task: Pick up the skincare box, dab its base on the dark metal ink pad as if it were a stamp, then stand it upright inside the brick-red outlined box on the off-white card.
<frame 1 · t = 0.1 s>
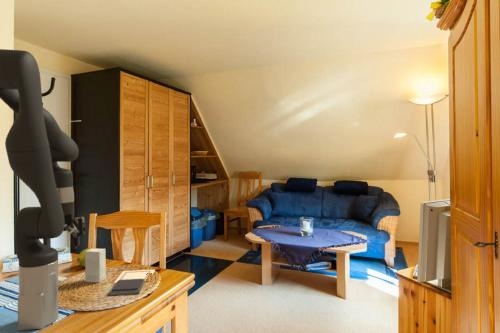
hand: (62, 248, 98), 17 cm above the table, tool pointing down, fingers open, 8 cm apart
paper sheet: (135, 276, 118), on the table
skincare box: (95, 280, 114), on the table
ink pad: (128, 288, 107), on the table
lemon: (88, 266, 129), on the table
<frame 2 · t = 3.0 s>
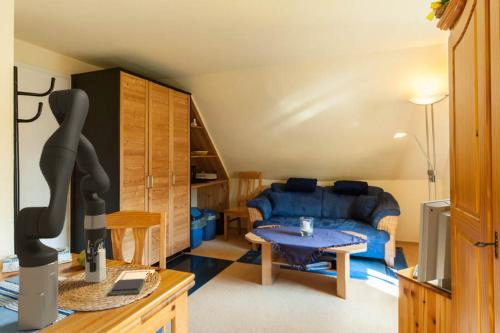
hand: (95, 269, 114), 4 cm above the table, tool pointing down, fingers closed on skincare box, 5 cm apart
skincare box: (95, 280, 114), on the table, touching gripper
everything else where it was.
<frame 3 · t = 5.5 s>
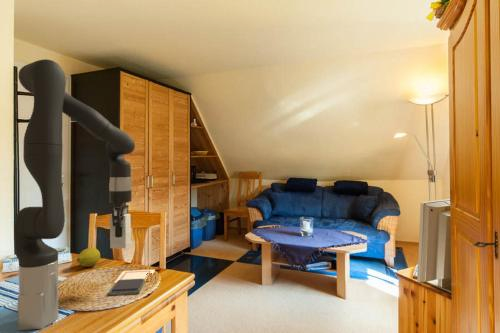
hand: (120, 234, 108), 19 cm above the table, tool pointing down, fingers closed on skincare box, 5 cm apart
skincare box: (120, 247, 108), point 15 cm above the table, touching gripper
everything else where it was.
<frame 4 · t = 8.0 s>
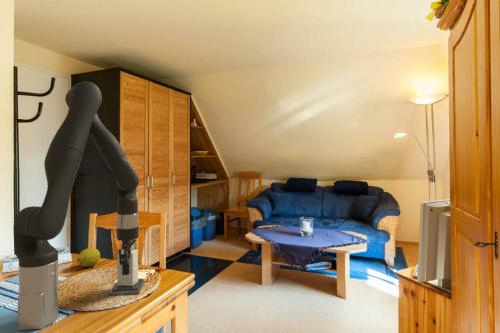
hand: (127, 271, 107), 6 cm above the table, tool pointing down, fingers closed on skincare box, 5 cm apart
skincare box: (127, 284, 107), point 2 cm above the table, touching gripper, ink pad
everything else where it was.
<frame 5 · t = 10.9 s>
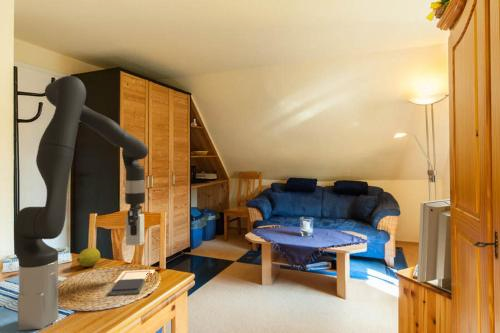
hand: (135, 233, 118), 18 cm above the table, tool pointing down, fingers closed on skincare box, 5 cm apart
skincare box: (135, 244, 118), point 13 cm above the table, touching gripper
everything else where it was.
when the fingers open (6 cm above the table, at t = 13.3 s): skincare box drops 1 cm, resting on paper sheet.
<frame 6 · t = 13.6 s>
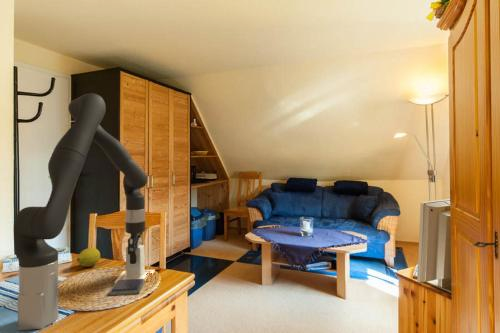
hand: (135, 260, 118), 7 cm above the table, tool pointing down, fingers open, 7 cm apart
skincare box: (135, 276, 118), resting on paper sheet
everything else where it was.
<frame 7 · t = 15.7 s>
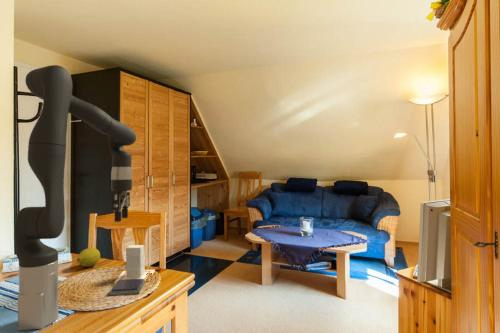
hand: (121, 219, 115), 24 cm above the table, tool pointing down, fingers open, 8 cm apart
nothing on the table moved.
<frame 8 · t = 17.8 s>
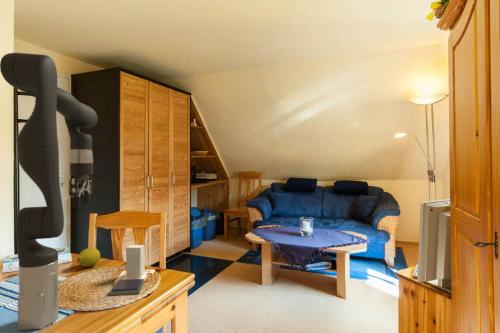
hand: (81, 205, 108), 30 cm above the table, tool pointing down, fingers open, 8 cm apart
nothing on the table moved.
at the end: skincare box 0.1 cm off-centre on the paper sheet, point 0.1 cm above the paper sheet's base; skincare box tilted 0°; the gripper is holding nothing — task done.
